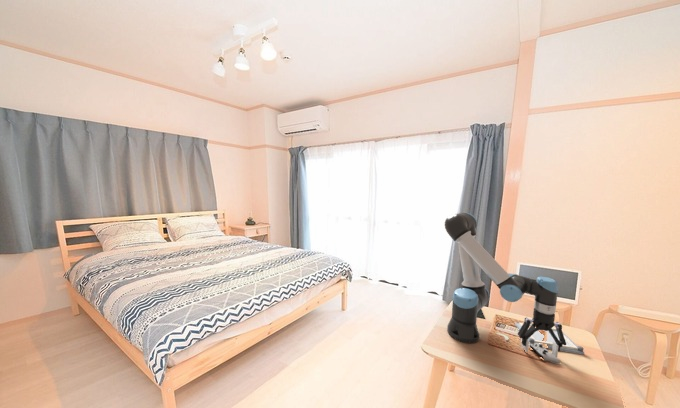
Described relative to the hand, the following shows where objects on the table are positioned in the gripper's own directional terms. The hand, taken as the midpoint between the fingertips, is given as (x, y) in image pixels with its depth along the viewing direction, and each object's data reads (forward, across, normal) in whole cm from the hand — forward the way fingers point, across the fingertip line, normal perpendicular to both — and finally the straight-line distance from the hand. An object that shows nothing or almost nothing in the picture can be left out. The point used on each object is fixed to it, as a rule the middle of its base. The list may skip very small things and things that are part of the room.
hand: (539, 354), depth 111 cm
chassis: (0, +10, +15) cm, 18 cm away
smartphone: (+1, -18, +33) cm, 38 cm away
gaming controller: (+1, +1, 0) cm, 1 cm away
